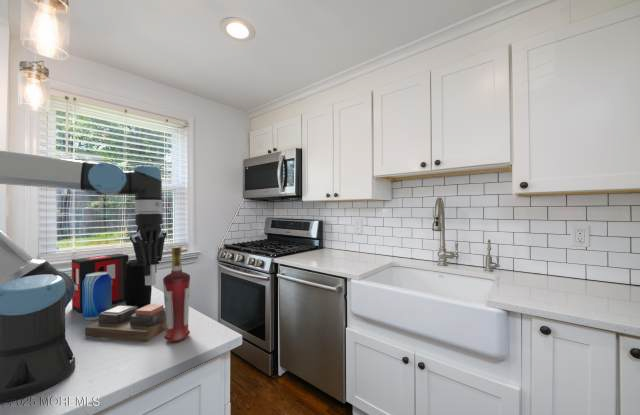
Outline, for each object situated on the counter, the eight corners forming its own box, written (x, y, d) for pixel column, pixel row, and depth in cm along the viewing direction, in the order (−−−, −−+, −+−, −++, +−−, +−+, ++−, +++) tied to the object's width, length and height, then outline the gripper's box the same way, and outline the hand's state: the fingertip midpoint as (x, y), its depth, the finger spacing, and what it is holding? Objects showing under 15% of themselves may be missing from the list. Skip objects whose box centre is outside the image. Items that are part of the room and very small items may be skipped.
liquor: (162, 337, 83) (161, 247, 83) (188, 331, 87) (187, 245, 87) (165, 347, 77) (164, 250, 77) (192, 339, 81) (191, 247, 81)
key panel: (145, 342, 80) (145, 321, 80) (85, 336, 84) (85, 317, 84) (178, 322, 94) (178, 305, 94) (125, 318, 98) (124, 302, 98)
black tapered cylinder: (155, 304, 112) (154, 257, 112) (144, 312, 103) (144, 262, 103) (132, 305, 111) (132, 258, 111) (120, 314, 102) (119, 263, 102)
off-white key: (118, 318, 87) (118, 312, 87) (104, 317, 88) (104, 311, 88) (132, 312, 92) (132, 306, 92) (119, 311, 93) (119, 305, 93)
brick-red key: (150, 317, 85) (150, 311, 85) (135, 316, 86) (135, 310, 86) (163, 310, 90) (163, 304, 90) (149, 310, 91) (149, 304, 91)
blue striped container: (101, 320, 96) (100, 276, 96) (76, 321, 95) (75, 277, 95) (117, 311, 104) (116, 270, 104) (94, 312, 104) (94, 271, 104)
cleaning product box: (119, 297, 122) (119, 253, 122) (128, 300, 117) (128, 255, 117) (72, 309, 108) (71, 259, 108) (80, 313, 103) (80, 261, 103)
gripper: (142, 213, 81) (144, 291, 81) (173, 212, 94) (174, 279, 94) (121, 213, 82) (122, 290, 82) (154, 212, 95) (155, 279, 95)
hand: (150, 284), depth 88 cm, fingers closed
